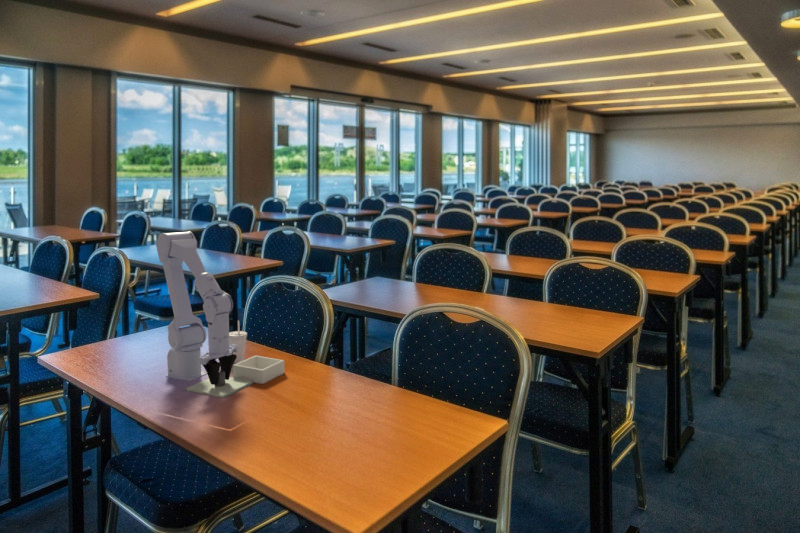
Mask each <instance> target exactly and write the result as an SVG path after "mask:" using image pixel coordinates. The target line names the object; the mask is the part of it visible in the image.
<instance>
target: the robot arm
mask: <svg viewBox="0 0 800 533" xmlns="http://www.w3.org/2000/svg"><path fill="white" fill-rule="evenodd" d="M155 246H156V249H157V250H156V251H157V255H158V259H159V262H160V263H162V266H163V272H164V276H165V280H166V285H167V286H166V287H167V288H168V289H167V290H168V294H169V299H170V303H171V306H172V307H171V308H172V312H173V317H174V318H173V319H172V321H171V322H170V323H169V324H168V326H167V331H168V336H167V340H168V343H169V346H170V347H171V348H169V350H168V353H167V358H166V359H167V361H166V362H167V374H165V377H166V378H171V379H176V380H181V381H187V382H191V381H193V380H196V379H198V378H201V377H203V376H206V375H207V376H208V379H209V380H210V383H211V384H213V385H218V379H219V370H225V380H229V377H231V372H232V370H233V365H234V364H235V363H234V362H235V360H236V358H237V356H236V355H235V354H233V352H238V345H234V344H232V345H229V333H230V319H229V318H230V314H229V313H231V312H232V311H233V308H234V302H233V299H232V296H231V295H230V294H229V293H227V292H226V291H225V290H222V289H221V287H220V285H219V283H218V281H217V280H216V279H215V276H214V275H213V274H212V273H211V272H207V270H206V268H205V266H204V264H203V262H202V260H201V258H200V254H199V253H198V250H197V249H198V248H197V247H198V241H197V239H196V236H195V235H194V233H193V232H192V231H190V230H188V231H181V232H166V233H165V232H161V233H160V234H159V235H158V237H157V239H156V243H155ZM183 263H185V265H186V267H187V269H188V270H189V271H190V273H192V275H193V277H194V282H193V284H194V286H195V288H196V290H197V292H198V293H199V295H200V297H201V299H202V300H203V304H202V308H203V312H204V314H205V320H206V322H207V330H208V331H206V329H205V327H204V325H203V322H202V319H201V318H199V317H198V316H196V315H195V314H193V310H192V305H191V302H190V296H189V292H188V289H187V282H186V279H185V274H184V269H183ZM207 335H208V337H207ZM207 338H208V339H207ZM206 340H208V351H207V352H204V354H203V355H201V353H202V352H201V348H203V347H204V343H205V342H206ZM217 359H218V360H217ZM202 367H203V368H204V370H205V371H203V370H202Z"/></svg>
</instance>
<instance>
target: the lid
mask: <svg viewBox="0 0 800 533" xmlns="http://www.w3.org/2000/svg"><path fill="white" fill-rule="evenodd" d="M252 383H253V382H252V381H248V380H243V379H238V378H233V376H230V377H229V380H225V370H221V369H219V379H218V385H213V384H211V383H210V380H209V378H207V379H204V380H202V381H199V382H197V383H195V384H192V385H190V386H188V387H186V389H185V391H187V390H188V392H192V391H193V393H197V392H198V394H201V393H202V394H203V395H206V394H207V395H208V396H211V395H212V397H215V396H216V397H217V398H220V397H221V399H225V398H224V397H226V396H228V395H230V394H232V393H234V392H236V391H238V390H240V389H242V388H244V387H246V386H248V385H250V384H252ZM252 385H253V384H252ZM250 386H251V385H250ZM248 387H249V386H248ZM246 388H247V387H246ZM244 389H245V388H244ZM242 390H243V389H242ZM240 391H241V390H240ZM238 392H239V391H238ZM236 393H237V392H236ZM234 394H235V393H234ZM232 395H233V394H232ZM230 396H231V395H230ZM228 397H229V396H228ZM226 398H227V397H226Z"/></svg>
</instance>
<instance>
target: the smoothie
mask: <svg viewBox="0 0 800 533" xmlns="http://www.w3.org/2000/svg"><path fill="white" fill-rule="evenodd" d="M240 327H241V324H240V320H237V330H235V331H229V345H232V344H234V345H238V352H233V354H235V355H236V356H237V358H236V360H235V362H234V364H236V363H239V362H241V361H243V360H245V353H246V345H247V344H246V342H247V337H248V332H246V331H243V330H240Z"/></svg>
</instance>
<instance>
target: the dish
mask: <svg viewBox="0 0 800 533" xmlns="http://www.w3.org/2000/svg"><path fill="white" fill-rule="evenodd" d="M285 371H286V370H285V360H284V359H278V358H273V357H267V356H261V355H252V356H251V357H249V358H246V359H244V360H243V361H241V362H239V363H234V364H233V366H232V378H238V379H243V380H248V381H252V383H254V384H255V383H256V384H262V385H263V384H266V383H268V382H270V381H272V380H274V379H276V378H278V377H280V376H283V375H284V374H285Z"/></svg>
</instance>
